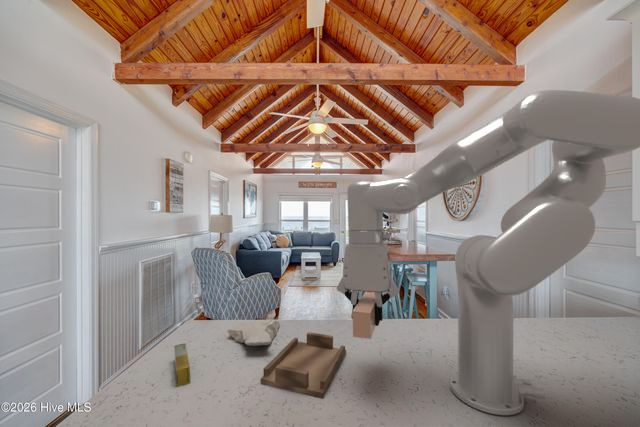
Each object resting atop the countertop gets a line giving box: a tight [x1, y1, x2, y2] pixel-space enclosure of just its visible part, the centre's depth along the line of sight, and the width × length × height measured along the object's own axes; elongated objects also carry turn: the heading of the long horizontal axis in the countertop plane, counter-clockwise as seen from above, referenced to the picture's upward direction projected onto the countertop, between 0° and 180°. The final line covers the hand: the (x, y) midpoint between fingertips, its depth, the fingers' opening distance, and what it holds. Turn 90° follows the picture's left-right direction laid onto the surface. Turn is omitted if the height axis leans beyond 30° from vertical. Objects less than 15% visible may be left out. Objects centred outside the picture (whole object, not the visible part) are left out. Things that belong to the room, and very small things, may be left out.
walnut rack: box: [260, 331, 347, 399], centre depth 65 cm, size 14×18×4 cm
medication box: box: [173, 342, 191, 387], centre depth 63 cm, size 12×3×4 cm, turn 30°
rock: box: [227, 318, 280, 347], centre depth 79 cm, size 21×5×15 cm
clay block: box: [351, 291, 377, 340], centre depth 60 cm, size 4×14×5 cm, turn 160°
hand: (367, 321), depth 60 cm, fingers closed on clay block, 3 cm apart
